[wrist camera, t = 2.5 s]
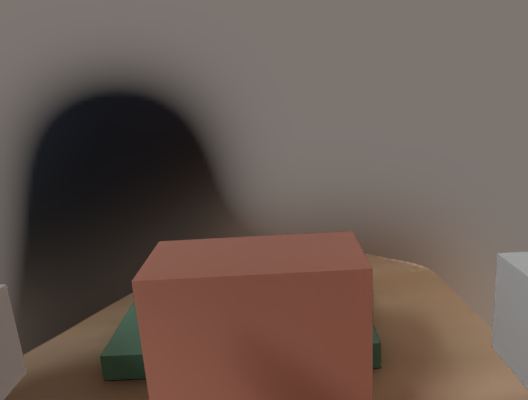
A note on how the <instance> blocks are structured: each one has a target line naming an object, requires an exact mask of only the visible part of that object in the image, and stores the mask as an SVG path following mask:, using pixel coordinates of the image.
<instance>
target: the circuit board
mask: <svg viewBox="0 0 528 400" xmlns="http://www.w3.org/2000/svg"><path fill="white" fill-rule="evenodd" d="M100 358H101V364H102V370H103V375H104V380H125V379H146V374H145V367H144V360H143V354H142V347H141V340H140V334H139V327H138V321H137V314H136V307H135V301H134V303H133V304H132V306H131V308H130V309H129V311H128V312H127V314H126V316H125V317H124V319H123V320H122V322H121V324H120V325H119V327H118V328H117V330H116V332H115V333H114V335H113V337H112V338H111V340H110V341H109V343H108V345H107V346H106V348H105V349H104V351H103V353H102V354H101V356H100ZM373 368H381V343H380V341H379V338H378V336H377V333H376V331H375V329H374V326H373Z"/></svg>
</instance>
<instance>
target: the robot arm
mask: <svg viewBox="0 0 528 400" xmlns="http://www.w3.org/2000/svg"><path fill="white" fill-rule="evenodd" d="M495 283H496V284H495V300H494V318H493V337H492V348H493V349H494V350H495V351H496V352H497V354H498V355H499V356H500V357H501V358H502V360H503V361H504V362H505V363H506V364H507V366H508V367H509V368H510V369H511V370H512V372H513V373H514V374H515V375H516V376H517V377H518V379H519V380H520V381H521V382H522V383H523V385H524V386H525V387H526V388H527V389H528V252H512V253H497V263H496V282H495ZM26 373H27V371H26V366H25V362H24V358H23V353H22V349H21V345H20V341H19V336H18V332H17V328H16V323H15V319H14V315H13V310H12V306H11V302H10V297H9V293H8V289H7V284H1V285H0V400H4V399H5V398H6V397H7V396H8V394H9V393H10V392H11V391H12V390H13V389H14V387H15V386H16V385H17V384H18V383H19V382H20V380H21V379H22V378H23V377H24V376H25V375H26Z"/></svg>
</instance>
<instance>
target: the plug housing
mask: <svg viewBox="0 0 528 400" xmlns="http://www.w3.org/2000/svg"><path fill="white" fill-rule="evenodd" d="M132 287H133V294H134V301H135V307H136V314H137V321H138V327H139V334H140V340H141V347H142V354H143V360H144V367H145V374H146V380H147V387H148V393H149V400H373V313H372V267H371V265H370V263H369V261H368V260H367V258H366V256H365V254H364V252H363V250H362V248H361V246H360V245H359V243H358V241H357V239H356V237H355V235H354V234H353V232H352V231H340V232H322V233H304V234H286V235H268V236H250V237H233V238H215V239H196V240H178V241H160V242H159V243H158V244H157V246H156V247H155V248H154V250H153V251H152V253H151V254H150V256H149V257H148V258H147V260H146V261H145V263H144V264H143V266H142V267H141V269H140V270H139V271H138V273H137V274H136V276H135V277H134V279H133V280H132Z"/></svg>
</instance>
